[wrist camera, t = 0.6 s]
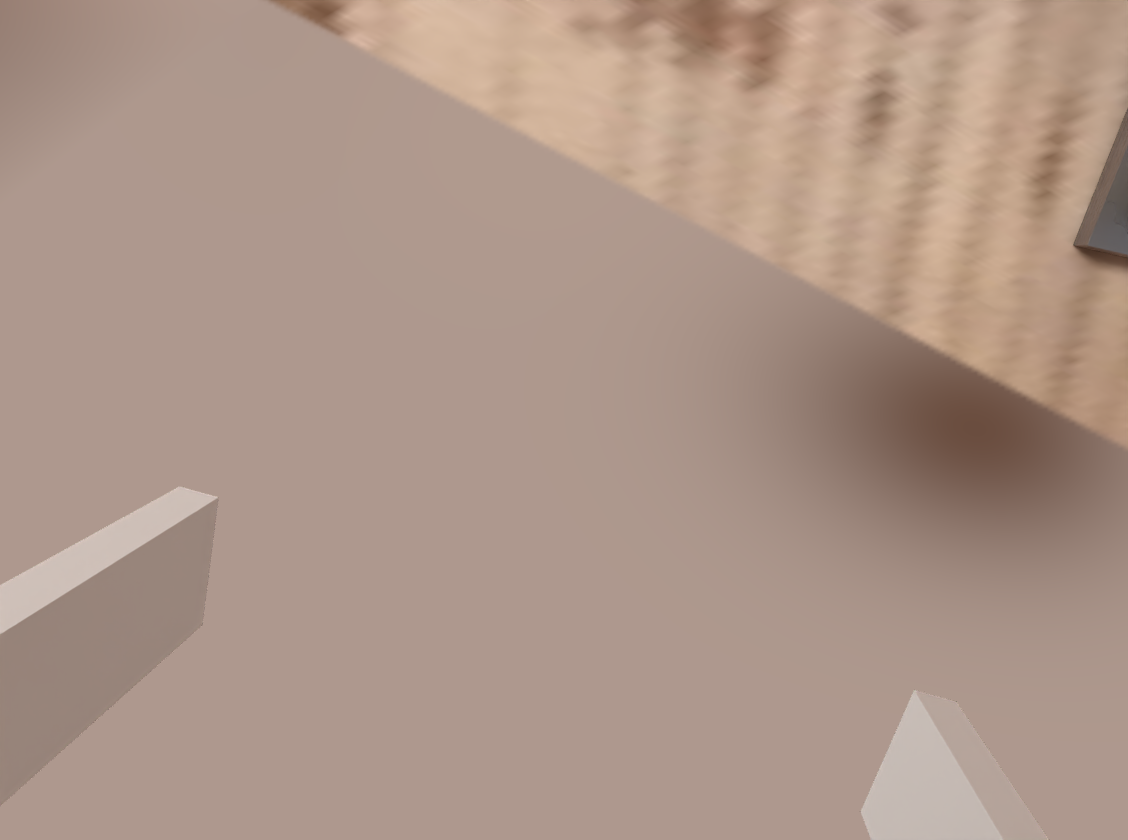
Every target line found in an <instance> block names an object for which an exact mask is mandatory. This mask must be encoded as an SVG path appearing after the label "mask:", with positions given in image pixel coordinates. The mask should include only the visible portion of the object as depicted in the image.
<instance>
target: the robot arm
mask: <svg viewBox="0 0 1128 840" xmlns="http://www.w3.org/2000/svg"><path fill="white" fill-rule="evenodd" d="M217 506H218V497H215V496H212V495H208V494H204V493H201V492H198V491H194V490H190V489H187V488H183V487H178V488H176V489H174V490H172V491H171V492H169V493H167V494H165V495H163V496H161V497H160V498H158V499H156V500H154V501H152V502H151V503H149V504H147V505H145V506H143V507H141V508H140V509H138V510H136V511H134V512H132V513H131V514H129V515H127V516H125V517H124V518H121V519H120V520H118V521H116V522H114V523H112V524H111V525H109V526H107V527H105V528H103V529H101V530H100V531H98V532H96V533H94V534H92V535H91V536H89V537H87V538H85V539H84V540H82V541H80V542H78V543H76V544H74V545H72V546H71V547H69V548H67V549H65V550H63V551H62V552H60V553H58V554H56V555H54V556H53V557H51V558H49V559H47V560H46V561H43V562H42V563H40V564H38V565H36V566H34V567H32V568H31V569H29V570H27V571H25V572H23V573H22V574H20V575H18V576H16V577H14V578H12V579H11V580H9V581H7V582H5V583H3V584H2V585H0V806H1V805H2V804H3V803H4V802H5V801H6V800H8V799H9V798H10V797H11V796H12V795H13V794H14V793H15V792H16V791H18V790H19V789H20V788H21V787H22V786H23V785H24V784H25V783H27V782H28V781H29V780H30V779H31V778H32V777H33V776H34V775H35V774H37V773H38V772H39V771H40V770H41V769H42V768H43V767H44V766H46V765H47V764H48V763H49V762H50V761H51V760H52V759H53V758H54V757H56V756H57V755H58V754H59V753H60V752H61V751H62V750H63V749H65V748H66V747H67V746H68V745H69V744H70V743H71V742H72V741H73V740H75V739H76V738H77V737H78V736H79V735H80V734H81V733H82V732H83V731H85V730H86V729H87V728H88V727H89V726H90V725H91V724H92V723H94V721H96V720H97V719H98V718H99V717H100V716H101V715H103V714H104V713H105V712H106V711H107V710H108V709H109V708H110V707H111V706H113V705H114V704H115V703H116V702H117V701H118V700H119V699H120V698H121V697H123V696H124V695H125V694H126V693H127V692H128V691H129V690H130V689H132V688H133V687H134V686H135V685H136V684H137V683H138V682H139V681H141V680H142V679H143V678H144V677H145V676H146V675H147V674H148V673H149V672H151V671H152V670H153V669H154V668H155V667H156V666H157V665H158V664H159V663H161V662H162V661H163V660H164V659H165V658H166V657H167V656H168V655H170V654H171V653H172V652H173V651H174V650H175V649H176V648H177V647H179V646H180V645H181V644H182V643H183V642H184V641H185V640H186V639H187V638H189V637H190V636H191V635H192V634H193V633H194V632H195V631H196V630H197V629H199V628H200V627H201V626H202V624H203V617H204V609H205V601H206V593H207V585H208V577H209V568H210V561H211V554H212V546H213V538H214V530H215V522H216V513H217ZM861 814H862V817H863V819H864V822H865V825H866V827H867V830H868V833H869V835H870V838H871V840H1049V839H1048V837H1047V836H1046V835H1045V833H1044V831H1043V830H1042V828H1041V827H1040V826H1039V824H1038V823H1037V821H1036V820H1035V818H1034V817H1033V815H1032V814H1031V812H1030V811H1029V809H1028V808H1027V806H1026V805H1025V803H1024V802H1023V800H1022V799H1021V797H1020V796H1019V794H1018V793H1017V791H1016V790H1015V788H1014V787H1013V785H1012V784H1011V782H1010V781H1009V779H1008V778H1007V776H1006V775H1005V773H1004V772H1003V770H1002V769H1001V767H1000V766H999V765H998V763H997V761H996V760H995V758H994V757H993V755H992V754H991V753H990V751H989V750H988V748H987V746H986V745H985V744H984V742H983V741H982V739H981V738H980V736H979V735H978V733H977V732H976V730H975V729H974V727H973V726H972V724H971V723H970V721H969V720H968V718H967V717H966V715H965V714H964V712H963V711H962V709H961V708H960V706H959V705H958V703H957V702H956V701H953V700H949V699H945V698H942V697H938V696H935V695H931V694H927V693H924V692H920V691H917V690H914V691H913V694H912V696H911V698H910V700H909V703H908V705H907V707H906V710H905V712H904V714H903V717H902V719H901V721H900V723H899V725H898V728H897V730H896V732H895V735H894V737H893V739H892V742H891V744H890V746H889V748H888V750H887V753H886V755H885V758H884V760H883V762H882V764H881V767H880V769H879V771H878V773H877V775H876V778H875V780H874V782H873V785H872V787H871V789H870V791H869V794H868V796H867V798H866V800H865V803H864V805H863V807H862V810H861Z"/></svg>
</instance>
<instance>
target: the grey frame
mask: <svg viewBox="0 0 1128 840" xmlns="http://www.w3.org/2000/svg"><path fill="white" fill-rule="evenodd" d="M1074 246H1079V247H1083V248H1087V249H1092V250H1096V251H1100V252H1105V253H1109V254H1113V255H1118V256H1122V257H1126V258H1128V109H1127V112H1126V114H1125V117H1124V119H1123V122H1122V124H1121V127H1120V129H1119V132H1118V134H1117V137H1116V139H1115V142H1114V144H1113V147H1112V149H1111V152H1110V154H1109V157H1108V159H1107V162H1106V164H1105V167H1104V169H1103V172H1102V174H1101V177H1100V179H1099V182H1098V184H1097V187H1096V189H1095V192H1094V194H1093V197H1092V199H1091V202H1090V204H1089V207H1088V209H1087V212H1086V214H1085V217H1084V219H1083V222H1082V225H1081V227H1080V230H1079V232H1078V235H1077V237H1076V240H1075V242H1074Z"/></svg>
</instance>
